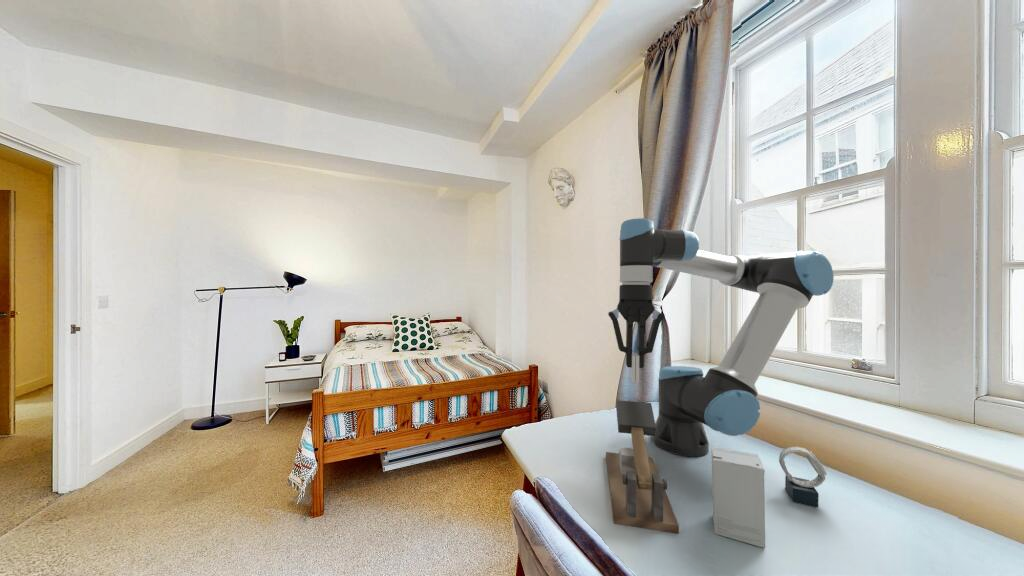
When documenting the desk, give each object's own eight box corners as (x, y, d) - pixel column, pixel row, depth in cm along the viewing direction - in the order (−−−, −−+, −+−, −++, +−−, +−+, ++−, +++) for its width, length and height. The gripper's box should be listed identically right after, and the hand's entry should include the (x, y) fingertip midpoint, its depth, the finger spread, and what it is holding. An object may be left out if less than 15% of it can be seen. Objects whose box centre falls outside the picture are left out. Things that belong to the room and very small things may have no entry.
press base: (652, 462, 89) (652, 429, 89) (678, 533, 64) (679, 487, 64) (605, 457, 92) (606, 424, 92) (613, 523, 66) (614, 478, 66)
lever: (649, 411, 83) (651, 403, 81) (665, 494, 66) (667, 486, 64) (616, 408, 84) (616, 400, 83) (623, 489, 68) (624, 480, 66)
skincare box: (760, 529, 65) (761, 454, 65) (766, 551, 60) (767, 469, 59) (710, 515, 69) (711, 444, 69) (711, 534, 64) (712, 457, 63)
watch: (830, 510, 70) (831, 459, 70) (782, 499, 74) (783, 450, 74) (819, 495, 76) (820, 447, 75) (775, 486, 79) (776, 440, 79)
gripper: (661, 284, 83) (660, 378, 83) (606, 283, 86) (605, 374, 86) (668, 284, 75) (667, 387, 76) (608, 283, 78) (607, 383, 79)
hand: (634, 380), depth 81 cm, fingers closed
